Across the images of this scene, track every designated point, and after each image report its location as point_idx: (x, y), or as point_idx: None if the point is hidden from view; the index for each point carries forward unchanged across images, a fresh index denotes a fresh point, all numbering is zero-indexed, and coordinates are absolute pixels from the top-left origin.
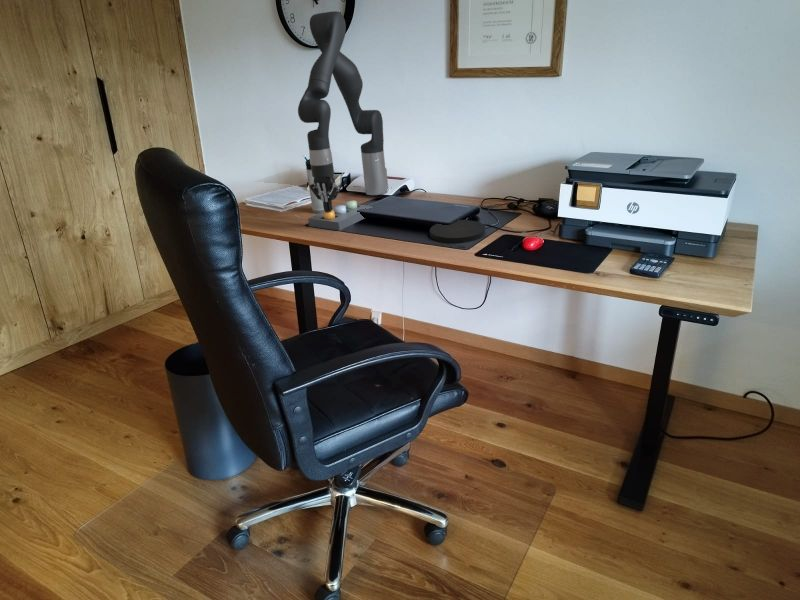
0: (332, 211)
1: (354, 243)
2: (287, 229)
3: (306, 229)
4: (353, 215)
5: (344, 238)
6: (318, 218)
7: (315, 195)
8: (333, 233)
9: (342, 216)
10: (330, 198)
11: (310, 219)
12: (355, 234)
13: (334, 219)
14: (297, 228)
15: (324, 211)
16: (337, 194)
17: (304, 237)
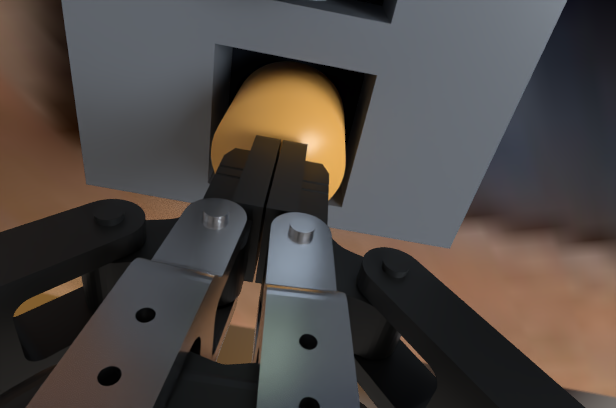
0: (318, 142)
1: (605, 366)
2: (14, 223)
3: (153, 208)
4: (556, 19)
5: (521, 316)
6: (191, 175)
7: (35, 327)
8: (408, 254)
9: (424, 85)
10: (373, 359)
11: (120, 185)
12: (587, 255)
13: (374, 185)
14: (66, 197)
15: (215, 151)
16: (496, 337)
17: (250, 323)
